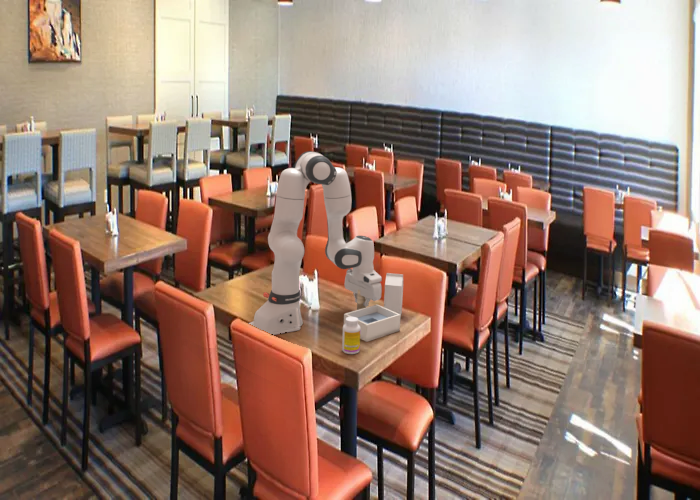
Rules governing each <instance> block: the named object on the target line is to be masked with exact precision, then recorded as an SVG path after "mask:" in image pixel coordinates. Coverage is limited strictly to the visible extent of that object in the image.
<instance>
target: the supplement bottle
mask: <svg viewBox="0 0 700 500" xmlns="http://www.w3.org/2000/svg"><path fill="white" fill-rule="evenodd" d="M345 322H346V324H345V325H344V324H343V325H342V334H341V335H342V337H341V339H342V340H341V342H342V343H341V351H342V352H343V353H345V354H348V355H355V354H358V353H359V352H360V351H361V339H360V330H361V328H360V326H359V325H358V318H356V317H347V318H346V321H345Z"/></svg>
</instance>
